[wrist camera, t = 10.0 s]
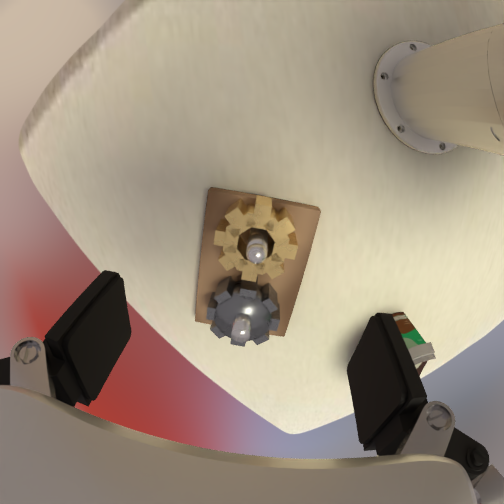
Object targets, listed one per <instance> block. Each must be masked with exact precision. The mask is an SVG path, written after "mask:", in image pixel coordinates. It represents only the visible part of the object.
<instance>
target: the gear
mask: <svg viewBox="0 0 504 504" xmlns="http://www.w3.org/2000/svg"><path fill="white" fill-rule="evenodd" d="M257 283H258V276H257V279H256V282H253V281H247V280H242V281H236V282H235V281H234V280H233V279H232V277H231V276H229V277H227V278H225V279H224V280H222V281H220V282H219V283H218V286H217V289H216V292H212V294H211V297H210V301H209V304H208V307H207V315H206V319H208V320H213V321H212V324H211V328H210V330H211V331H212V332H213V333H214V334H215V335H216V336H217V337H218V338H222V337H224V336H228V337H229V338H231V344H233V345H238V346H244V347H245V343H246V341H250V340H253V341H254V342H255V343H256V344H257V345H258V344H260V343H263V342H265V341H267V340H269V330H271V331H277V329H278V326H279V322H280V304H279V303H278V300H277V292H276V291H275V289H274V288H273V287H272V286H271V284H270V283H268V284H266V285H264V286H261V285H259V284H257Z"/></svg>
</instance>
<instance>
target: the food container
mask: <svg viewBox="0 0 504 504" xmlns="http://www.w3.org/2000/svg"><path fill="white" fill-rule="evenodd" d="M392 316H393V318H394V320H395V322H396V324H397V326H398V328H399V330H400V332H401V335H402V337H403V339H404V341H405V344H406V346H407V348H408V350H409V353H410V355H411V357H412V360H413V362H414V364H415V367H416V369H417V372H418V374H419V376H420V374H421V372H422V370H423V368H424V366H425V364H426V363H427V361H428V360H431V359H436V357H435V355H434V353H435V352H434V349H433V347H432V344H431V342H430V343H426V342H425V341H424V339H423V338H422V337H421V335H420V334H419V333H418V331H417V330H416V328H415V327H414V326H413V324H412V323H411V322H410V320H409V319H408V318H407V316H406V315H405V314H404V312H397V313H393V314H392Z"/></svg>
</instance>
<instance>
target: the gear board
mask: <svg viewBox="0 0 504 504" xmlns="http://www.w3.org/2000/svg"><path fill="white" fill-rule="evenodd" d="M259 196H260V195H259ZM264 197H266V196H264ZM256 198H257V195H255V194H249V193H243V192H238V191H232V190H226V189H220V188H213V187H211V188H210V189H209V190H208V196H207V204H206V212H205V220H204V229H203V238H202V247H201V257H200V267H199V278H198V289H197V301H196V315H195V321H196V322H201V323H206V324H212V321H213V320H208V319H206V315H207V307H208V304H209V301H210V297H211V294H212V292H216V289H217V286H218V283H219V282H220V281H222V280H224V279H225V278H227V277H229V276H231V277H232V279H233V280H234V281H235V282H236V281H242V279H241V277H242V272H243V271H239V270H237V269H236V267H233V268H232V269H230V270H228V271H227V270H226V269H225V268H224V267H223V265H222V264H221V263H220V262H219V261H218V258H219V256H220V253H221V250H222V248H223V246H218V245H214V238H215V230H216V228H217V226H218V224H219V222H220V220H221V219H225V220H227V219H226V218H225V214H226V212H227V210H228V208H229V206H230V205H232V204H233V203H235V202H236V201H238V200H239V199H242V200H243V202H244V203H245V204H246V206H247V205H248V204H250V203H252V204H255V203H256ZM269 198H271V197H269ZM272 207H273V208H275V209H276V211H279V210H280V209H282V208H284V207H286V209H287V210H288V212H289V213H290V215H291V216H292V218H293V221H294V225H295V229H296V230H294V231H293V233H295V234H296V238H297V243H298V249H297V253H296V256H295V260H293V259H287V258H285V259H284V271H285V272H284V273H282V274H281V275H279V276H277V277H275V278H274V279H271V278H270V276H269V275H268V274H267V272H266V273H265V274H263V275H261V274H257V276H258V283H257V284H259V285H261V286H264V285H266V284H268V283H270V284H271V286H272V287H273V288H274V289H275V291H276V292H277V300H278V303H279V304H280V322H279V326H278V329H277V331H271V330H269V335H276V336H283V337H284V336H285V333H286V330H287V327H288V324H289V320H290V317H291V314H292V311H293V308H294V305H295V301H296V298H297V295H298V292H299V288H300V285H301V282H302V278H303V275H304V271H305V268H306V264H307V261H308V257H309V254H310V250H311V247H312V243H313V239H314V236H315V232H316V228H317V224H318V221H319V217H320V213H321V211H320V209H319V207H315V206H311V205H306V204H301V203H296V202H291V201H286V200H281V199H276V198H272ZM251 228H252V227H251ZM251 228H249V229H248V230H246V231H245V232H243V233H241V234H240V236H241V237H242V239H243V240H244V241H245V243H246V244H248V238H249V233H250V230H251ZM267 232H268V231H267ZM270 242H272V237H271V235H270V234H269V233H268V243H270Z"/></svg>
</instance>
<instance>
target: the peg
mask: <svg viewBox="0 0 504 504" xmlns="http://www.w3.org/2000/svg"><path fill="white" fill-rule="evenodd" d="M267 246H268V232H267V230H264V229H259V228H254V227H252V228H251V230H250V233H249V238H248V244H247V249H246V256H247V259H248V260H249V261H250V262H251V263H254V264H260V263H262V262H263V261H265V259H266V257H267Z"/></svg>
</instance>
